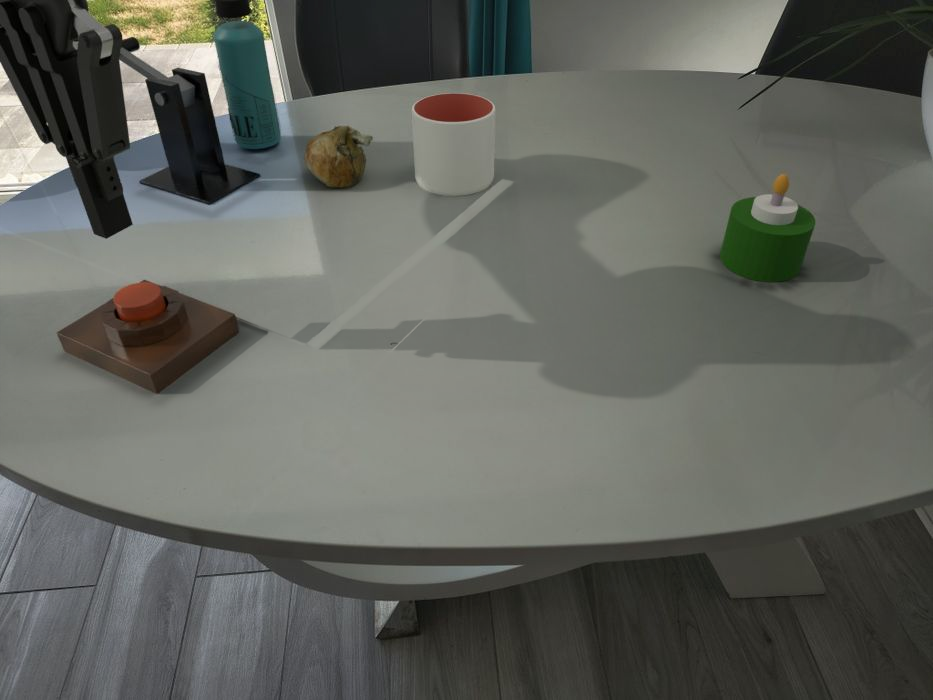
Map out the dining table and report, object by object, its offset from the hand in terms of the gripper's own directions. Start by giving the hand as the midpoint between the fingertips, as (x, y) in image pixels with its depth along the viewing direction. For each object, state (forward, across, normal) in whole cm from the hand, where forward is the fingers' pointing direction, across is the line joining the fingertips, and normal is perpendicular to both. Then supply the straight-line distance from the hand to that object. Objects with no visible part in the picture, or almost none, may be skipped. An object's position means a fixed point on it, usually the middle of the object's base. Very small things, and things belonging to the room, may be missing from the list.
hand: (113, 229), depth 61 cm
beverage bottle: (+12, -20, +38) cm, 45 cm away
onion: (+12, -5, +35) cm, 37 cm away
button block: (+12, 0, 0) cm, 12 cm away
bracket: (+12, -20, +26) cm, 35 cm away
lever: (0, -25, +26) cm, 36 cm away
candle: (+12, +46, +42) cm, 64 cm away
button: (+8, 0, 0) cm, 8 cm away
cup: (+12, +8, +42) cm, 44 cm away
